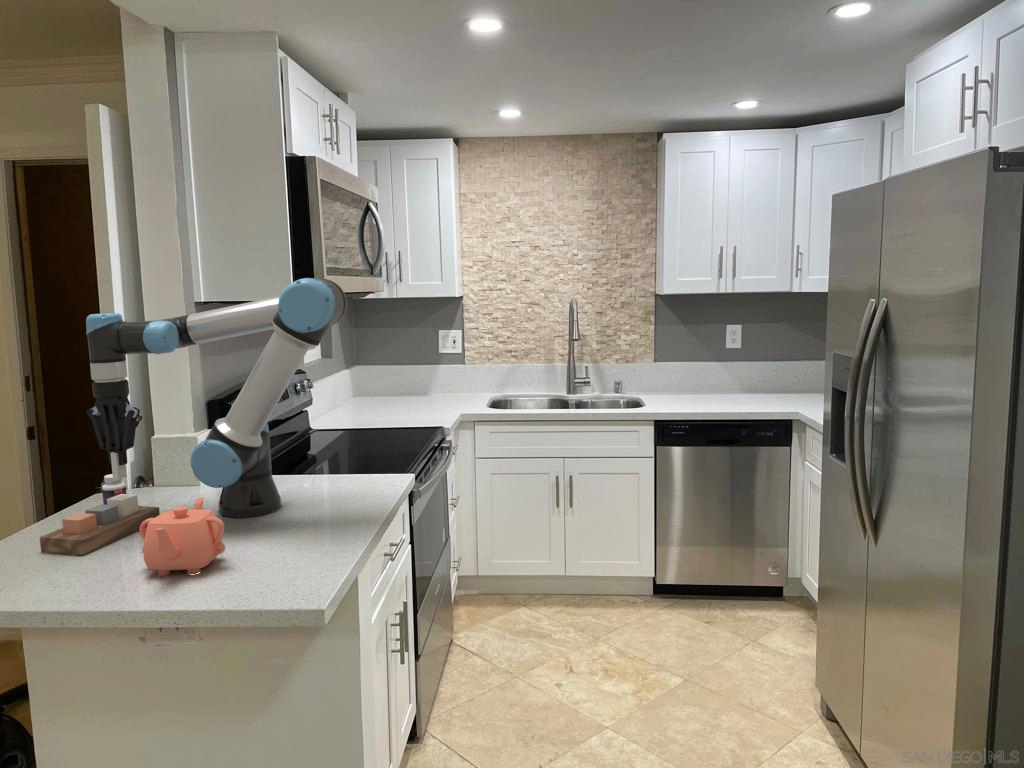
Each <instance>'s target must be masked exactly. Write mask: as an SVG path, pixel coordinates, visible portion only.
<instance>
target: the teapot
mask: <svg viewBox="0 0 1024 768" xmlns="http://www.w3.org/2000/svg"><path fill="white" fill-rule="evenodd" d="M204 500H205V498H204V497H199V498H198V499H196V500H195V503H194V504H193V505H194V506H193V509H189V506H177V507H174V508H172V510H165V511H164V512H162V513H160V515H158V516H157V517H155V518H149V519H146V520H145V521H143V522H142V524H141V525H140V529H139V534H140V537H142V540H143V541H144V542H143V546H142V549H141V550H142V554H143V562H144V564H145V565H146V567H147V570H148V569H149V570H153V571H157V573H156V576H157V575H158V576H157V577H164V576H163V575H165V576H168V575H170V574H171V571H181V570H182V571H184V570H185V571H187V573H186V574H187V575H188V574H196V573H198V572H200V571H201V569H202V568H205V567H206V566H208V565H209V564H211V563H212V562H213V561H214V559H216V557H218V556H219V555H221V554H223V553H224V552H225V550H226V545H225V543H224V542H223V540H222V539H223V535H224V532H225V523H224V521H223V520H222V519H220V518H219V517H217V516H216V515H215V513H214V511H213V509H203V506H204V505H203V504H204ZM146 524H148V525H147V527H146ZM212 560H213V561H212ZM211 561H212V562H211ZM210 562H211V563H210ZM201 572H202V571H201ZM169 573H170V574H169ZM167 574H168V575H167Z"/></svg>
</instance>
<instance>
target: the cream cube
mask: <svg viewBox="0 0 1024 768" xmlns="http://www.w3.org/2000/svg"><path fill="white" fill-rule="evenodd" d="M138 499H139V498H138V494H129V493H126V494H120V495H117V496H114V497H112V498H109V499H107V505H117V507H118V516H121V517H125V516H128V515H130V514H133V513H135V512H137V511H139V508H138V506H139V500H138Z"/></svg>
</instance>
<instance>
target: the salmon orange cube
mask: <svg viewBox="0 0 1024 768" xmlns="http://www.w3.org/2000/svg"><path fill="white" fill-rule="evenodd" d="M61 520H62V521H61V522H62V528H63V532H64V534H73V535H82V534H85V533H87V532H89V531H92V530H94V529H97V523H96V514H88V513H86V512H77V513H74V514H72V515H69V516H68V517H65V518H62V519H61Z"/></svg>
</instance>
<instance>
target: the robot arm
mask: <svg viewBox="0 0 1024 768" xmlns="http://www.w3.org/2000/svg"><path fill="white" fill-rule="evenodd" d="M347 307H348V301H347V296H346V293H345V291H344V290H343V287H341V286H340V285H339V284H338V283H337V282H334V281H332V280H330V279H327V278H313V277H312V278H311V277H304V278H300V279H297V280H295V281H293V282H291V283H289V284H288V285H287V286H286V287H284V288H283V290H282V292H281V293H280V295H279V296H275V297H274V296H273V297H269V298H264V299H259V300H255V301H249V302H245V303H240V304H235V305H230V306H225V307H221V308H216V309H210V310H205V311H201V312H196V313H195V312H194V313H190V314H186V315H181V316H176V317H170V318H165V319H164V318H163V319H154V320H152V319H151V320H142V321H124V320H123V315H121V313H118V312H117V313H115V312H113V313H112V312H111V313H110V312H109V313H91V314H89V315H88V316H87V317H86V319H85V321H86V322H85V325H86V326H85V327H86V329H85V330H86V332H85V334H86V338H87V346H88V353H89V366H90V377H91V380H92V381H93V382H92V383H91V387H92V395H93V398H95V403H94V406H93V407H92V408H89V409H87V410H86V414H87V415H88V416H89V418H90V420H91V422H92V423H91V424H92V426H93V429H94V433H95V436H96V439H97V442H98V446H99V449H101V450H105V451H107V453H108V462H109V466H110V465H111V472H112V474H113V480H119V479H122V480H123V479H124V478H127V477H128V475H127V474H128V473H127V464H128V455H127V454H128V453H127V451H128V450H130V449H132V448H134V447H135V440H136V428H137V421H138V417H139V416H140V413H141V410H140V409H139V408H134V407H132V406H131V402H130V400H129V395H130V386H129V380H128V379H126V378H127V377H128V375H129V374H128V367H127V355H132V354H133V355H134V354H135V355H136V354H137V355H138V354H139V355H141V354H143V355H144V354H145V355H146V354H147V355H148V354H153V355H154V354H155V355H160V354H169V353H170V354H171V353H173V352H174V351H175V350H176V349H183V348H186V347H190V346H195V345H199V344H204V343H210V342H214V341H215V342H216V341H220V340H225V339H230V338H235V337H239V336H245V335H251V334H255V333H260V332H267V331H270V330H271V331H272V330H274V331H273V333H272V335H271V336H270V338H269V339H268V342H267V343H266V345H265V347H264V349H263V350H262V352H261V354H260V356H259V358H258V359H257V362H256V363H255V365H254V366H253V368H252V370H251V372H250V374H249V375H248V377H247V379H246V381H245V382H244V384H243V386H242V388H241V389H240V392H239V393H238V395H237V397H236V399H235V400H234V403H233V404H232V405H231V407H230V409H229V411H228V413H227V414H226V416H225V417H222V418H218V419H216V421H215V422H214V424H213V426H212V427H211V429H210V431H209V433H208V434H207V436H206V438H204V439H205V440H202V441H200V443H198V444H197V445H196V446H195V447H194V449H193V450H192V452H191V454H190V455H191V456H190V459H189V460H190V462H189V463H190V467H191V469H192V472H193V474H194V476H195V478H196V479H197V480H198V481H199V482H200V483H202V484H203V485H205V486H207V487H210V488H214V489H221V493H220V496H219V501H218V505H217V506H218V513H219V515H221V516H223V517H227V518H249V517H250V518H251V517H252V518H253V517H258V516H263V515H267V514H270V513H273V512H276V511H278V510H279V509H280V508H281V507H282V499H281V495H280V494H279V491H278V489H277V485H276V483H275V481H274V478H273V472H272V454H271V439H270V438H271V437H270V435H271V432H270V429H269V424H268V420H269V419H270V418H271V416H272V414H273V411H275V409H276V407H277V405H278V404H279V401H280V399H281V397H282V396H283V394H284V392H285V391H286V389H287V388H288V386H289V384H290V382H291V381H292V379H293V377H294V375H295V374H296V372H297V370H298V368H299V367H300V365H301V363H302V362H303V360H304V358H305V357H306V355H307V352H308V351H309V349H312V348H316V347H318V346H319V345H320V343H321V341H322V340H323V339H324V337H325V335H326V333H327V331H328V330H329V328H330V327H332V326H334V325H336V324H338V323H339V322H340V321H341V320H342V319H343V317H344V315H345V314H346V311H347ZM280 506H281V507H280ZM278 508H279V509H278Z"/></svg>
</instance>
